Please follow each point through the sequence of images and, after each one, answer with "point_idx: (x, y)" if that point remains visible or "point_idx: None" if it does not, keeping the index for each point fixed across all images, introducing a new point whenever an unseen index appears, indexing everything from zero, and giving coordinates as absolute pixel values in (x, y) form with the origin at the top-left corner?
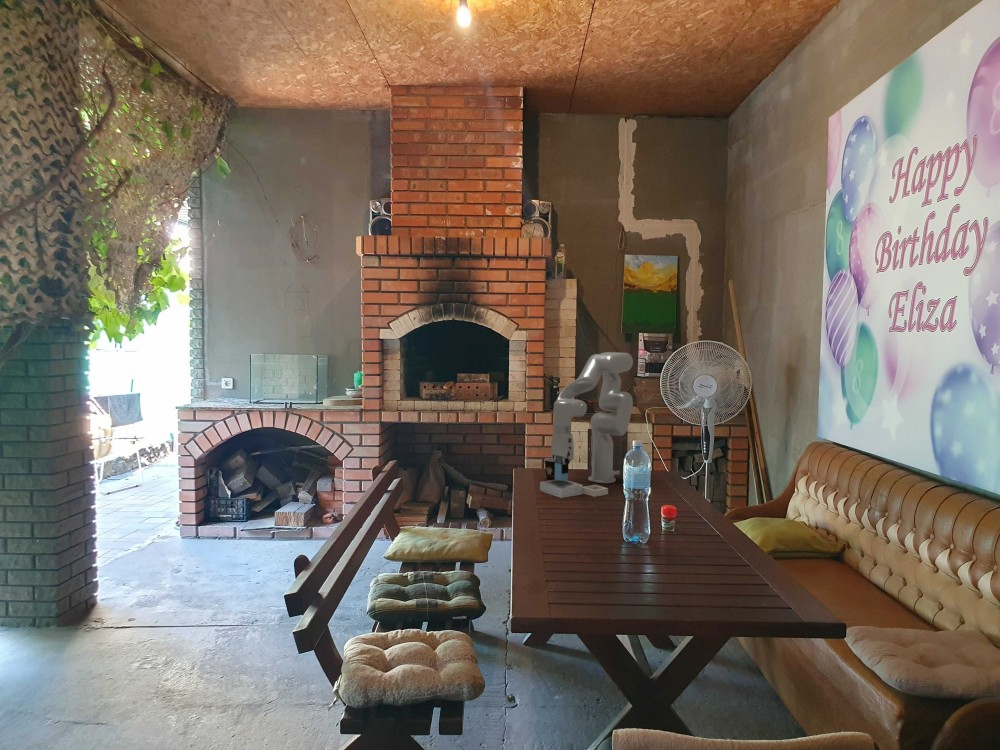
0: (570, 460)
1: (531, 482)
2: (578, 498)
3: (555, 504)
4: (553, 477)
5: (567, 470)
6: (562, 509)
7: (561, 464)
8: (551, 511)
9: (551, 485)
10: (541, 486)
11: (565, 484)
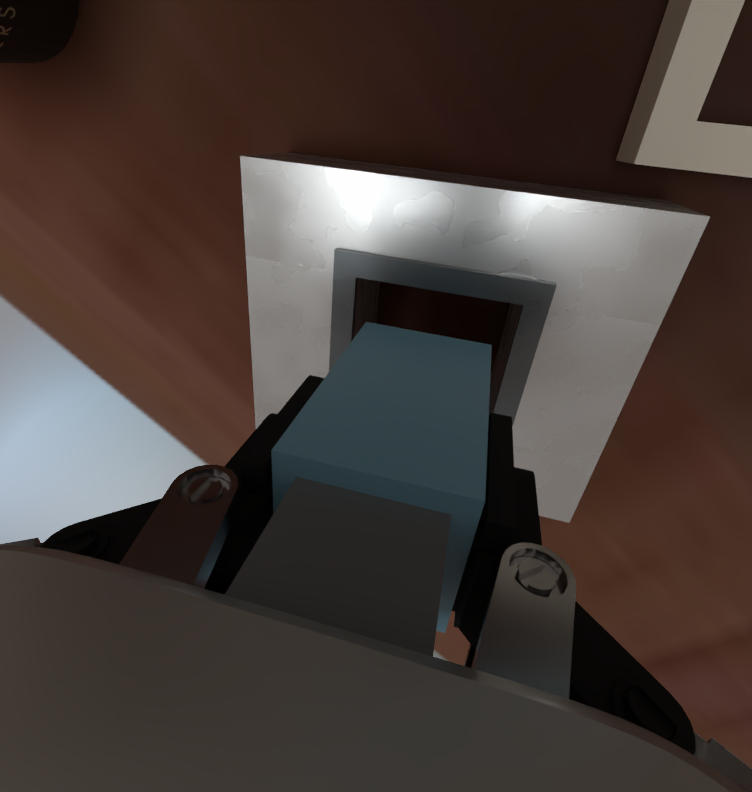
0: (692, 744)
1: (18, 230)
2: (709, 378)
3: (627, 601)
4: (22, 26)
5: (532, 485)
6: (740, 660)
7: (446, 623)
8: (693, 705)
9: None
10: None
11: (516, 400)
